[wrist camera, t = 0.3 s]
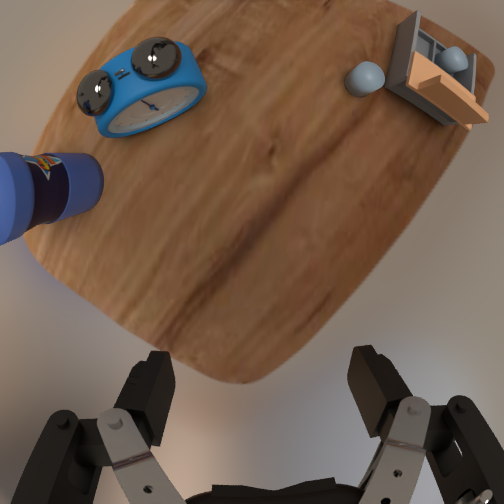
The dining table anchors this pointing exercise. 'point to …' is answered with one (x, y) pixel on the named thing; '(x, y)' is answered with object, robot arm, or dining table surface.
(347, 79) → the blue-grey rounded cylinder
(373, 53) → the dining table surface
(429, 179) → the dining table surface
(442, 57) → the grey rounded cylinder
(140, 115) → the alarm clock
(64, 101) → the dining table surface
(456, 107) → the lid
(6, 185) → the water bottle
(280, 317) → the dining table surface
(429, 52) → the housing
